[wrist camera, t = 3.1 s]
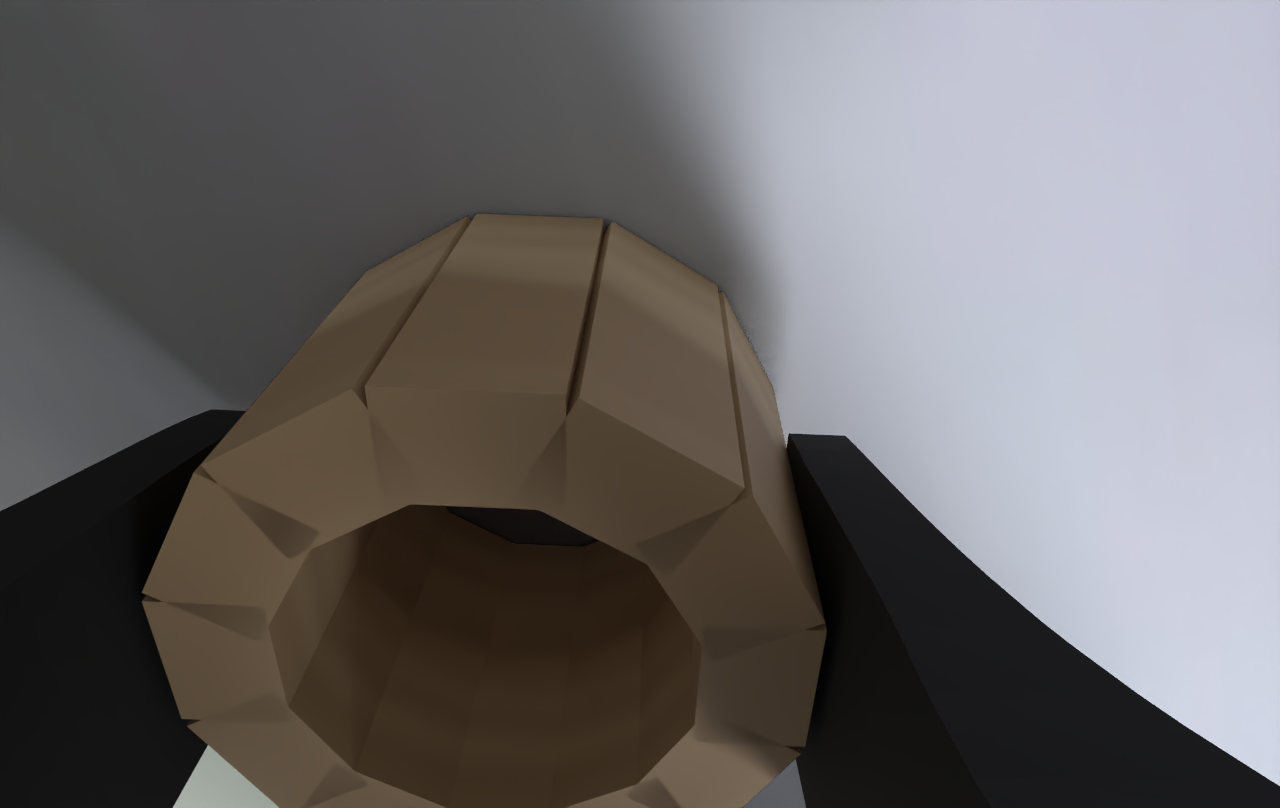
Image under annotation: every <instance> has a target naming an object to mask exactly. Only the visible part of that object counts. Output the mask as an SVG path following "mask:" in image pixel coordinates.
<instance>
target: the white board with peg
mask: <svg viewBox="0 0 1280 808" xmlns="http://www.w3.org/2000/svg"><path fill="white" fill-rule="evenodd" d="M173 808H279V807H278V806H277V805H276V804H275V803H273V802H272V801H271V800H270V799H269V798H268V797H267V796H265V795H264V794H263V793H262V792H261V791H260V790H259V789H258V788H256V787H255V786H254V785H253V784H252V783H251V782H250V781H248V780H247V779H246V778H245V777H244V776H243V775H242V774H241V773H239V772H238V771H237V770H236V769H235V768H234V767H233V766H231V765H230V764H229V763H228V762H227V761H226V760H225V759H223V758H222V757H221V756H220V755H219V754H218V753H217V752H216V751H214V750H213V749H212V748H211V747H210V746H209V745H208V746H207V748H206V750H205V751H204V753H203V755H202V757H201V758H200V760H199V762H198V764H197V766H196V767H195V769H194V771H193V773H192V774H191V776H190V778H189V780H188V782H187V783H186V785H185V787H184V789H183V790H182V792H181V794H180V796H179V798H178V799H177V801H176V803H175V805H174V806H173Z"/></svg>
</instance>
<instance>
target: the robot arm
mask: <svg viewBox="0 0 1280 808" xmlns="http://www.w3.org/2000/svg"><path fill="white" fill-rule="evenodd" d="M245 412H246V411H234V410H209V411H206V412H204V413H201V414H198V415H196V416H193V417H191V418H188V419H186V420H184V421H181V422H179V423H177V424H175V425H173V426H171V427H168V428H166V429H164V430H162V431H160V432H158V433H156V434H154V435H152V436H150V437H148V438H146V439H144V440H142V441H140V442H138V443H136V444H134V445H132V446H130V447H128V448H126V449H124V450H122V451H120V452H118V453H116V454H114V455H112V456H110V457H108V458H106V459H104V460H102V461H100V462H98V463H96V464H94V465H92V466H90V467H88V468H86V469H84V470H82V471H80V472H78V473H76V474H74V475H72V476H70V477H68V478H66V479H64V480H62V481H60V482H58V483H56V484H54V485H52V486H50V487H48V488H46V489H44V490H43V491H41V492H39V493H37V494H35V495H33V496H31V497H29V498H27V499H25V500H23V501H21V502H19V503H17V504H15V505H12V506H10V507H8V508H6V509H4V510H2V511H0V808H173V806H174V805H175V803H176V801H177V799H178V798H179V796H180V794H181V792H182V790H183V789H184V787H185V785H186V783H187V782H188V780H189V778H190V776H191V774H192V773H193V771H194V769H195V767H196V766H197V764H198V762H199V760H200V758H201V757H202V755H203V753H204V751H205V750H206V748H207V746H208V744H206V743H205V742H204V741H203V740H202V739H201V738H200V737H199V736H197V735H196V734H195V733H194V732H193V731H192V730H191V729H189V728H188V727H187V725H188V723H189V722H190V720H191V719H181V716H180V713H179V710H178V707H177V704H176V701H175V698H174V695H173V692H172V689H171V686H170V683H169V680H168V677H167V674H166V672H165V669H164V666H163V663H162V660H161V657H160V654H159V651H158V648H157V645H156V642H155V639H154V636H153V633H152V630H151V627H150V624H149V622H148V619H147V616H146V613H145V610H144V607H143V604H142V600H143V599H144V598H145V596H146V594H144V593H142V591H143V589H144V586H145V584H146V582H147V579H148V577H149V575H150V572H151V570H152V568H153V565H154V563H155V561H156V559H157V556H158V554H159V552H160V549H161V547H162V545H163V542H164V540H165V538H166V535H167V533H168V531H169V528H170V526H171V524H172V521H173V519H174V517H175V514H176V512H177V510H178V508H179V505H180V503H181V501H182V498H183V496H184V494H185V491H186V489H187V487H188V484H189V482H190V480H191V477H192V475H193V473H194V472H195V470H196V469H197V468H198V467H199V466H200V465H201V463H202V462H203V461H204V460H205V459H206V458H207V456H208V455H209V454H210V453H211V452H212V451H213V449H214V448H215V447H216V446H217V445H218V444H219V442H220V441H221V440H222V439H223V438H224V437H225V435H226V434H227V433H228V432H229V431H230V430H231V428H232V427H233V426H234V425H235V424H236V422H237V421H238V420H239V419H240V418H241V417H242V415H243V414H244V413H245ZM787 453H788V458H789V462H790V467H791V471H792V476H793V480H794V485H795V489H796V494H797V498H798V503H799V507H800V511H801V515H802V520H803V524H804V529H805V533H806V538H807V542H808V547H809V551H810V556H811V560H812V565H813V569H814V574H815V578H816V583H817V587H818V592H819V596H820V600H821V605H822V609H823V614H824V618H825V625H826V629H827V634H826V639H825V644H824V649H823V655H822V660H821V665H820V671H819V676H818V681H817V687H816V692H815V697H814V702H813V708H812V713H811V718H810V724H809V729H808V734H807V740H806V745H805V747H800V751H801V754H800V755H799V756H798V757H797V758H796V762H797V766H798V771H799V776H800V780H801V785H802V790H803V795H804V799H805V804H806V808H1280V786H1278V785H1277V784H1275V783H1274V782H1272V781H1270V780H1269V779H1267V778H1266V777H1264V776H1262V775H1261V774H1259V773H1258V772H1256V771H1255V770H1253V769H1251V768H1250V767H1248V766H1247V765H1245V764H1244V763H1242V762H1240V761H1239V760H1237V759H1236V758H1234V757H1233V756H1231V755H1229V754H1228V753H1226V752H1225V751H1223V750H1222V749H1220V748H1218V747H1217V746H1215V745H1214V744H1212V743H1211V742H1209V741H1207V740H1206V739H1204V738H1203V737H1201V736H1200V735H1198V734H1196V733H1195V732H1193V731H1192V730H1190V729H1189V728H1187V727H1186V726H1184V725H1183V724H1181V723H1180V722H1178V721H1177V720H1175V719H1174V718H1172V717H1171V716H1169V715H1168V714H1166V713H1165V712H1163V711H1162V710H1160V709H1159V708H1158V707H1156V706H1155V705H1153V704H1152V703H1150V702H1149V701H1147V700H1146V699H1144V698H1143V697H1141V696H1140V695H1139V694H1137V693H1136V692H1134V691H1133V690H1132V689H1130V688H1129V687H1128V686H1126V685H1125V684H1124V683H1122V682H1121V681H1120V680H1118V679H1117V678H1115V677H1114V676H1113V675H1111V674H1110V673H1109V672H1107V671H1106V670H1105V669H1103V668H1102V667H1100V666H1099V665H1098V664H1096V663H1095V662H1094V661H1092V660H1091V659H1090V658H1088V657H1087V656H1085V655H1084V654H1083V653H1081V652H1080V651H1079V650H1077V649H1076V648H1075V647H1073V646H1072V645H1071V644H1069V643H1068V642H1067V641H1065V640H1064V639H1063V638H1062V637H1060V636H1059V635H1058V634H1057V633H1055V632H1054V631H1053V630H1052V629H1050V628H1049V627H1048V626H1046V625H1045V624H1044V623H1043V622H1041V621H1040V620H1039V619H1038V618H1037V617H1035V616H1034V615H1033V614H1032V613H1031V612H1030V611H1028V610H1027V609H1026V608H1025V607H1024V606H1022V605H1021V604H1020V603H1019V602H1018V601H1017V600H1015V599H1014V598H1013V597H1012V596H1011V595H1010V594H1008V593H1007V592H1006V591H1005V590H1004V589H1003V588H1001V587H1000V586H999V585H998V584H997V583H995V582H994V581H993V580H992V579H991V578H990V577H988V576H987V575H986V574H985V573H984V572H983V571H982V570H981V569H980V568H979V567H977V566H976V565H975V564H974V563H973V562H972V561H971V560H970V559H969V558H967V557H966V556H965V555H964V554H963V553H962V552H961V551H960V550H959V549H958V548H957V547H956V546H955V545H953V544H952V543H951V542H950V541H949V540H948V539H947V538H946V537H945V536H944V535H943V534H942V533H941V532H940V531H939V530H938V529H937V528H936V527H935V526H934V525H933V524H932V523H931V522H930V521H929V520H927V519H926V518H925V517H924V516H923V515H922V514H921V513H920V512H919V511H918V510H917V509H916V508H915V507H914V506H913V505H912V504H911V503H910V502H909V501H908V500H907V499H906V497H905V496H904V495H903V494H902V493H901V492H900V491H899V490H898V489H897V488H896V487H895V486H894V485H893V484H892V483H891V482H890V481H889V480H888V479H887V478H886V477H885V476H884V475H883V474H882V473H881V472H880V471H879V470H878V469H877V468H876V467H875V466H874V465H873V463H872V462H871V461H870V460H869V459H868V458H867V457H866V456H865V455H864V454H863V453H862V452H861V451H860V450H859V449H858V448H857V447H856V446H855V445H854V444H853V443H852V442H851V441H850V440H849V439H848V438H847V437H846V436H834V435H810V434H789V436H788V443H787Z"/></svg>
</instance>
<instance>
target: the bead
mask: <svg viewBox="0 0 1280 808" xmlns="http://www.w3.org/2000/svg"><path fill="white" fill-rule="evenodd" d="M603 226H604V218H578V217H553V216H527V215H502V214H476V215H475V217H474V218H473V220H471V219H470V217H469V216H466V217H464V218H463V219H461V220H459V221H457V222H455V223H453V224H452V225H450V226H448V227H446V228H444V229H443V230H441V231H439V232H437V233H435V234H433V235H432V236H430V237H428V238H426V239H424V240H422V241H421V242H419V243H417V244H415V245H413V246H411V247H410V248H408V249H406V250H404V251H402V252H401V253H399V254H397V255H395V256H393V257H391V258H390V259H388V260H386V261H384V262H382V263H380V264H379V265H377V266H375V267H373V268H371V269H370V270H368V271H366V272H365V274H364V275H363V276H361V278H360V279H359V280H358V281H357V282H356V284H355V285H354V286H353V287H352V288H351V289H350V291H349V292H348V293H347V294H346V295H345V296H344V298H343V299H342V300H341V301H340V302H339V303H338V305H337V306H336V307H335V308H334V309H333V310H332V312H331V313H330V314H329V315H328V316H327V317H326V319H325V320H324V321H323V322H322V323H321V324H320V326H319V327H318V328H317V329H316V330H315V331H314V333H313V334H312V335H311V336H310V337H309V338H308V340H307V341H306V342H305V343H304V344H303V345H302V347H301V348H300V349H299V350H298V351H297V352H296V354H295V355H294V356H293V357H292V358H291V359H290V361H289V362H288V363H287V364H286V365H285V366H284V368H283V369H282V370H281V371H280V372H279V373H278V375H277V376H276V377H275V378H274V379H273V380H272V382H271V383H270V384H269V385H268V386H267V387H266V389H265V390H264V391H263V392H262V393H261V394H260V396H259V397H258V398H257V399H256V400H255V401H254V403H253V404H252V405H251V406H250V407H249V408H248V410H247V411H246V412H245V413H244V414H243V415H242V417H241V418H240V419H239V420H238V421H237V422H236V424H235V425H234V426H233V427H232V428H231V430H230V431H229V432H228V433H227V434H226V435H225V437H224V438H223V439H222V440H221V441H220V442H219V444H218V445H217V446H216V447H215V448H214V449H213V451H212V452H211V453H210V454H209V455H208V456H207V458H206V459H205V460H204V461H203V462H202V463H201V465H200V466H199V467H198V468H197V469H196V470H195V472H194V473H193V475H192V477H191V480H190V482H189V484H188V487H187V489H186V491H185V494H184V496H183V498H182V501H181V503H180V505H179V508H178V510H177V512H176V514H175V517H174V519H173V521H172V524H171V526H170V528H169V531H168V533H167V535H166V538H165V540H164V542H163V545H162V547H161V549H160V552H159V554H158V556H157V559H156V561H155V563H154V565H153V568H152V570H151V572H150V575H149V577H148V579H147V582H146V584H145V586H144V589H143V591H142V593H144V594H146V596H145V598H144V599H143V600H142V604H143V607H144V610H145V613H146V616H147V619H148V622H149V624H150V627H151V630H152V633H153V636H154V639H155V642H156V645H157V648H158V651H159V654H160V657H161V660H162V663H163V666H164V669H165V672H166V674H167V677H168V680H169V683H170V686H171V689H172V692H173V695H174V698H175V701H176V704H177V707H178V710H179V713H180V716H181V719H191V720H190V722H189V723H188V725H187V727H188V728H189V729H191V730H192V731H193V732H194V733H195V734H196V735H197V736H199V737H200V738H201V739H202V740H203V741H204V742H205V743H206V744H208V745H209V746H210V747H211V748H212V749H213V750H214V751H216V752H217V753H218V754H219V755H220V756H221V757H222V758H223V759H225V760H226V761H227V762H228V763H229V764H230V765H231V766H233V767H234V768H235V769H236V770H237V771H238V772H239V773H241V774H242V775H243V776H244V777H245V778H246V779H247V780H248V781H250V782H251V783H252V784H253V785H254V786H255V787H256V788H258V789H259V790H260V791H261V792H262V793H263V794H264V795H265V796H267V797H268V798H269V799H270V800H271V801H272V802H273V803H275V804H276V805H277V806H278V807H279V808H742V807H743V806H744V805H745V804H747V803H748V802H749V801H750V800H751V799H752V798H753V797H754V796H755V795H756V794H758V793H759V792H760V791H761V790H762V789H763V788H764V787H765V786H766V785H767V784H769V783H770V782H771V781H772V780H773V779H774V778H775V777H776V776H777V775H778V774H779V773H781V772H782V771H783V770H784V769H785V768H786V767H787V766H788V765H789V764H790V763H792V762H793V761H794V760H795V759H796V758H797V757H798V756H799V755H800V754H801V751H800V747H805V745H806V740H807V734H808V729H809V724H810V718H811V713H812V708H813V702H814V697H815V692H816V687H817V681H818V676H819V671H820V665H821V660H822V655H823V649H824V644H825V639H826V634H827V629H826V625H825V618H824V614H823V609H822V605H821V600H820V596H819V592H818V587H817V583H816V578H815V574H814V569H813V565H812V560H811V556H810V551H809V547H808V542H807V538H806V533H805V529H804V524H803V520H802V515H801V511H800V507H799V503H798V498H797V494H796V489H795V485H794V480H793V476H792V471H791V467H790V462H789V458H788V453H787V448H786V444H785V439H784V435H783V430H782V426H781V421H780V417H779V412H778V408H777V403H776V399H775V394H774V390H773V386H772V384H771V382H770V380H769V378H768V377H767V375H766V373H765V371H764V369H763V367H762V365H761V363H760V361H759V359H758V357H757V355H756V353H755V352H754V350H753V348H752V346H751V344H750V342H749V340H748V338H747V336H746V334H745V332H744V330H743V329H742V327H741V325H740V323H739V321H738V319H737V317H736V315H735V313H734V311H733V309H732V307H731V305H730V304H729V302H728V300H727V298H726V296H725V294H724V292H723V291H722V292H720V293H718V286H717V285H716V284H715V283H713V282H712V281H710V280H708V279H707V278H705V277H703V276H702V275H700V274H698V273H697V272H695V271H693V270H692V269H690V268H688V267H687V266H685V265H684V264H682V263H680V262H679V261H677V260H675V259H674V258H672V257H670V256H669V255H667V254H665V253H664V252H662V251H661V250H659V249H657V248H656V247H654V246H652V245H651V244H649V243H647V242H646V241H644V240H642V239H641V238H639V237H637V236H636V235H634V234H633V233H631V232H629V231H628V230H626V229H624V228H623V227H621V226H619V225H618V224H616V223H614V222H613V221H612V222H611V224H610V225H609V227H608V228H607V230H606V232H605V233H604V235H603ZM445 506H462V507H486V508H509V509H533V510H540V511H542V512H544V513H546V514H548V515H550V516H552V517H554V518H556V519H558V520H560V521H562V522H564V523H566V524H568V525H570V526H572V527H574V528H576V529H578V530H580V531H582V532H584V533H586V534H588V535H590V536H592V537H594V538H596V539H598V540H599V541H597V542H594V543H592V544H590V545H587V546H585V547H579V546H556V545H533V544H513V543H511V542H509V541H507V540H505V539H503V538H501V537H499V536H497V535H495V534H493V533H491V532H489V531H487V530H485V529H483V528H480V527H478V526H476V525H474V524H472V523H470V522H468V521H466V520H464V519H462V518H460V517H458V516H456V515H454V514H452V513H450V512H449V511H448V509H447V508H446V507H445Z"/></svg>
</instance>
